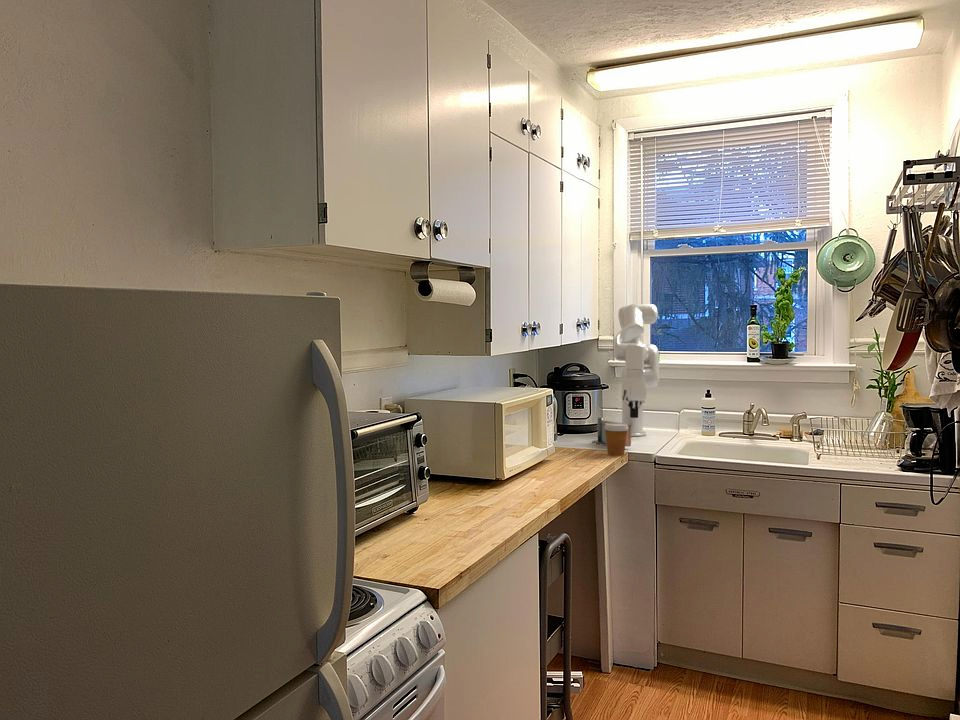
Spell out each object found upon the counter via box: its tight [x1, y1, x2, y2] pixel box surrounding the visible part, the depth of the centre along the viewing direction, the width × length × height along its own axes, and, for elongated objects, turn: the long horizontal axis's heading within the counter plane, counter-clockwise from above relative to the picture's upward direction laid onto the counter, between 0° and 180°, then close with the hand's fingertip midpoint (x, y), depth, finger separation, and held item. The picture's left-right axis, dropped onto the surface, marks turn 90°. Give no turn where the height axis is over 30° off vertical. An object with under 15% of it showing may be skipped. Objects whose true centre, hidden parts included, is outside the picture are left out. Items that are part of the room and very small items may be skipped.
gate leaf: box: [601, 419, 632, 448], centre depth 309 cm, size 16×2×9 cm, turn 30°
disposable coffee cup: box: [604, 422, 629, 457], centre depth 290 cm, size 10×10×12 cm
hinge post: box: [591, 417, 607, 445], centre depth 317 cm, size 7×7×11 cm
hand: (634, 417), depth 306 cm, fingers closed
